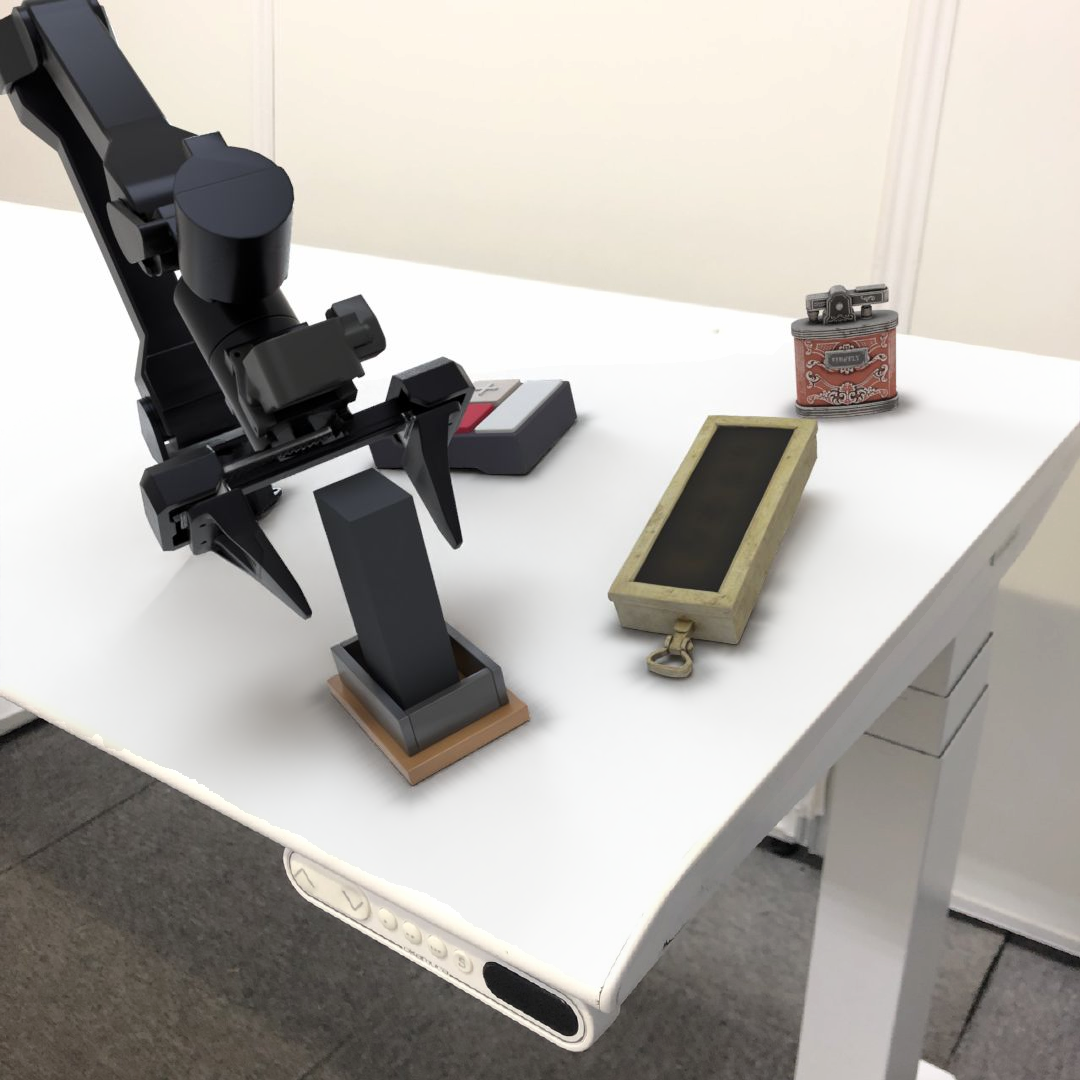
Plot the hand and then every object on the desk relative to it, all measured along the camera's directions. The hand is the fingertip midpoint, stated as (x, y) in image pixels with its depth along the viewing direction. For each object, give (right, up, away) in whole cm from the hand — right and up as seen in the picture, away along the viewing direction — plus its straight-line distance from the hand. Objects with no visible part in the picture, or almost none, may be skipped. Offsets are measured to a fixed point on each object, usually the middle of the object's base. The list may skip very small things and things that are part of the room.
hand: (386, 580), depth 56 cm
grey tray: (+2, -7, +4) cm, 8 cm away
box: (+20, 0, +10) cm, 22 cm away
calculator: (+3, +10, +35) cm, 37 cm away
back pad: (+1, -7, +3) cm, 7 cm away
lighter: (+33, +13, +28) cm, 46 cm away
